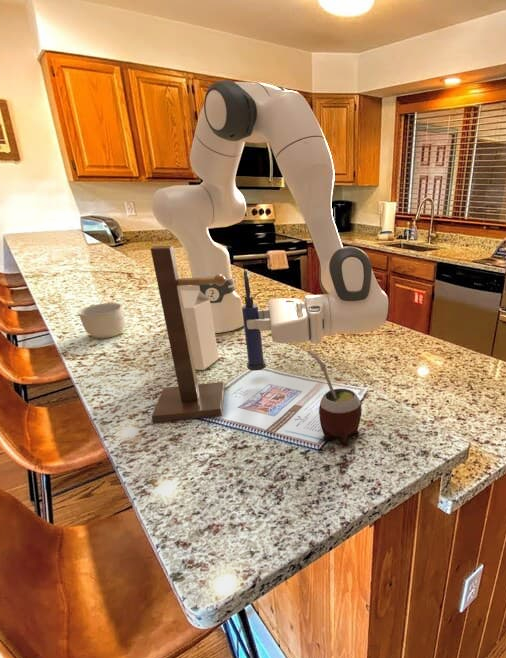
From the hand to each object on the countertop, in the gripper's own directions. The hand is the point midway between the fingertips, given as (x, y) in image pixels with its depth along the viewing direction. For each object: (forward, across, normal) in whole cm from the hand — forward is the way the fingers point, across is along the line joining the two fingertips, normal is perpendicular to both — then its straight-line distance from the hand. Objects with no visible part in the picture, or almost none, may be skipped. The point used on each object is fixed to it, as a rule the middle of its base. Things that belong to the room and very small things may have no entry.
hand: (246, 320), depth 88 cm
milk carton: (+13, -13, +14) cm, 23 cm away
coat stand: (+10, +8, +14) cm, 19 cm away
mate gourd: (-14, +26, +14) cm, 33 cm away
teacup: (+42, -43, +14) cm, 61 cm away
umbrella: (-1, 0, +10) cm, 11 cm away
